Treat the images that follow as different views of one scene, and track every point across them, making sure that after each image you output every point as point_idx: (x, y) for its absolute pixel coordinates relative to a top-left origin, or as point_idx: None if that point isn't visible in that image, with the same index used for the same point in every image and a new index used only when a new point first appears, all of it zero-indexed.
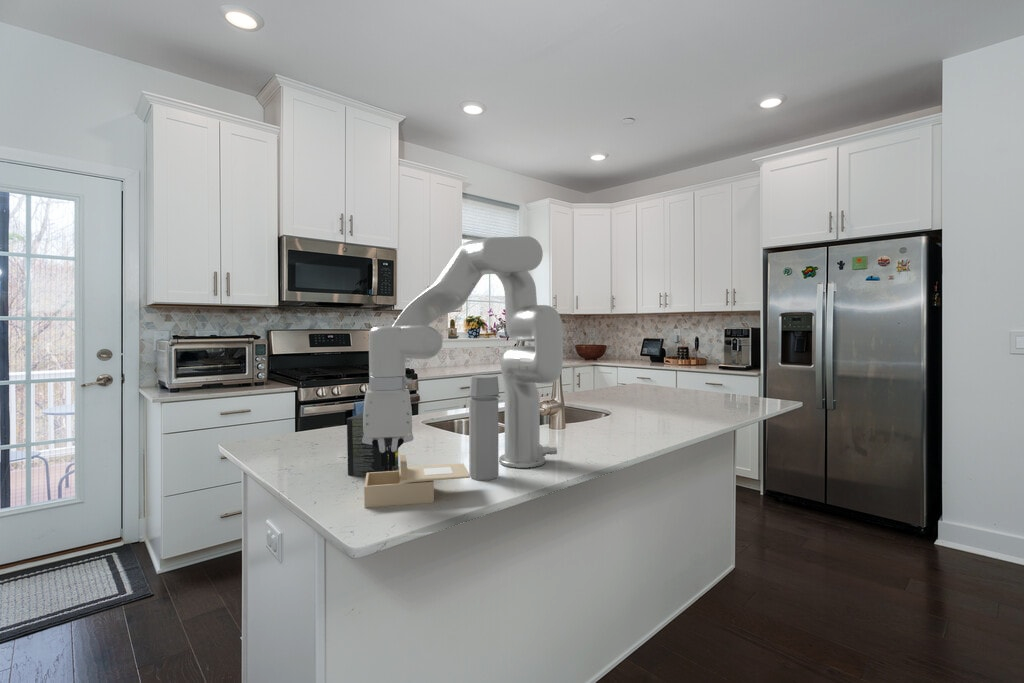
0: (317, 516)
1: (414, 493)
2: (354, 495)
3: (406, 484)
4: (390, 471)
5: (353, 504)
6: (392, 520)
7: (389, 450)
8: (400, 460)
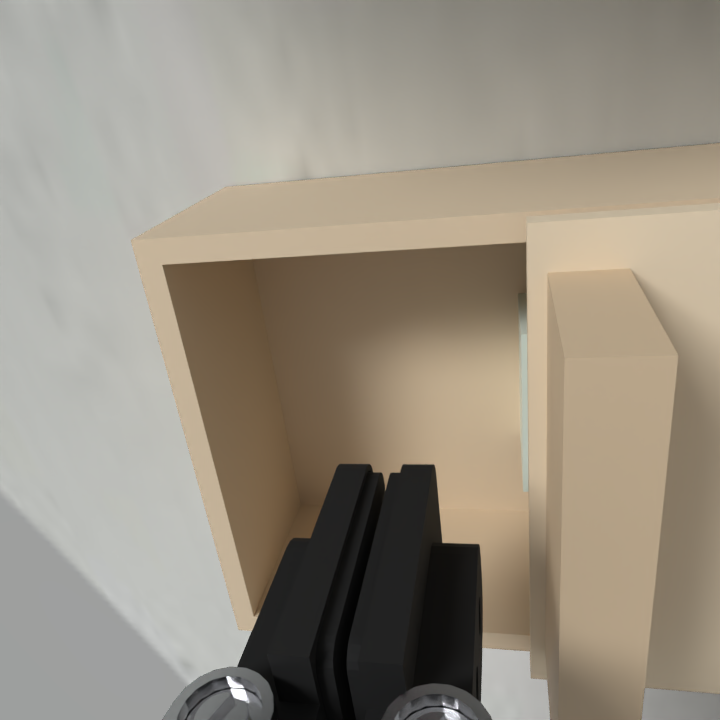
0: (62, 536)
1: None
2: (136, 213)
3: None
4: (409, 234)
5: None
6: None
7: (366, 691)
8: (557, 392)
